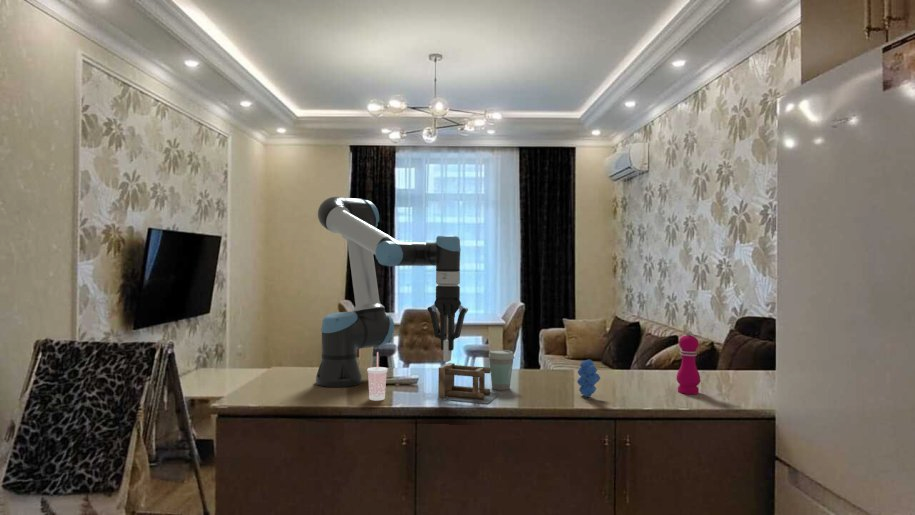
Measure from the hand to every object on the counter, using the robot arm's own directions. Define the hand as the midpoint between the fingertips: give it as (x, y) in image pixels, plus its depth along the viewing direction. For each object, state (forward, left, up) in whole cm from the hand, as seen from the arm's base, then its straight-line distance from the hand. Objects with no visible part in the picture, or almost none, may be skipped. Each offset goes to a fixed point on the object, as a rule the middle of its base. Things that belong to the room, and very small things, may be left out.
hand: (447, 360), depth 184 cm
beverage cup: (-18, -13, -11) cm, 24 cm away
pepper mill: (+71, +32, -11) cm, 79 cm away
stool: (-1, 0, -6) cm, 6 cm away
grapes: (+42, +13, -11) cm, 46 cm away
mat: (+8, 0, -11) cm, 13 cm away
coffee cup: (+13, +15, -11) cm, 23 cm away
